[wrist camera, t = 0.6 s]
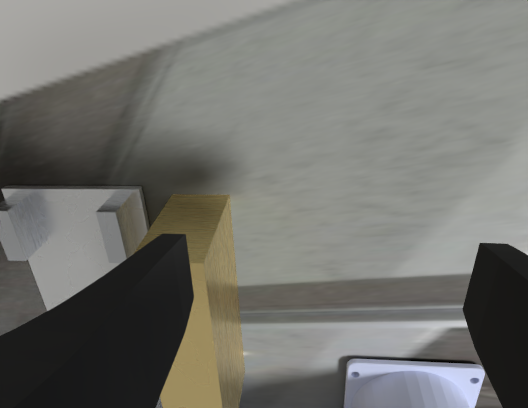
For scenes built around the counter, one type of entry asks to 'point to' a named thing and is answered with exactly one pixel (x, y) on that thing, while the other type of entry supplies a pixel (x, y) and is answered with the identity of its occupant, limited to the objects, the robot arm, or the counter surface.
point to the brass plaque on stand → (205, 305)
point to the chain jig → (71, 233)
